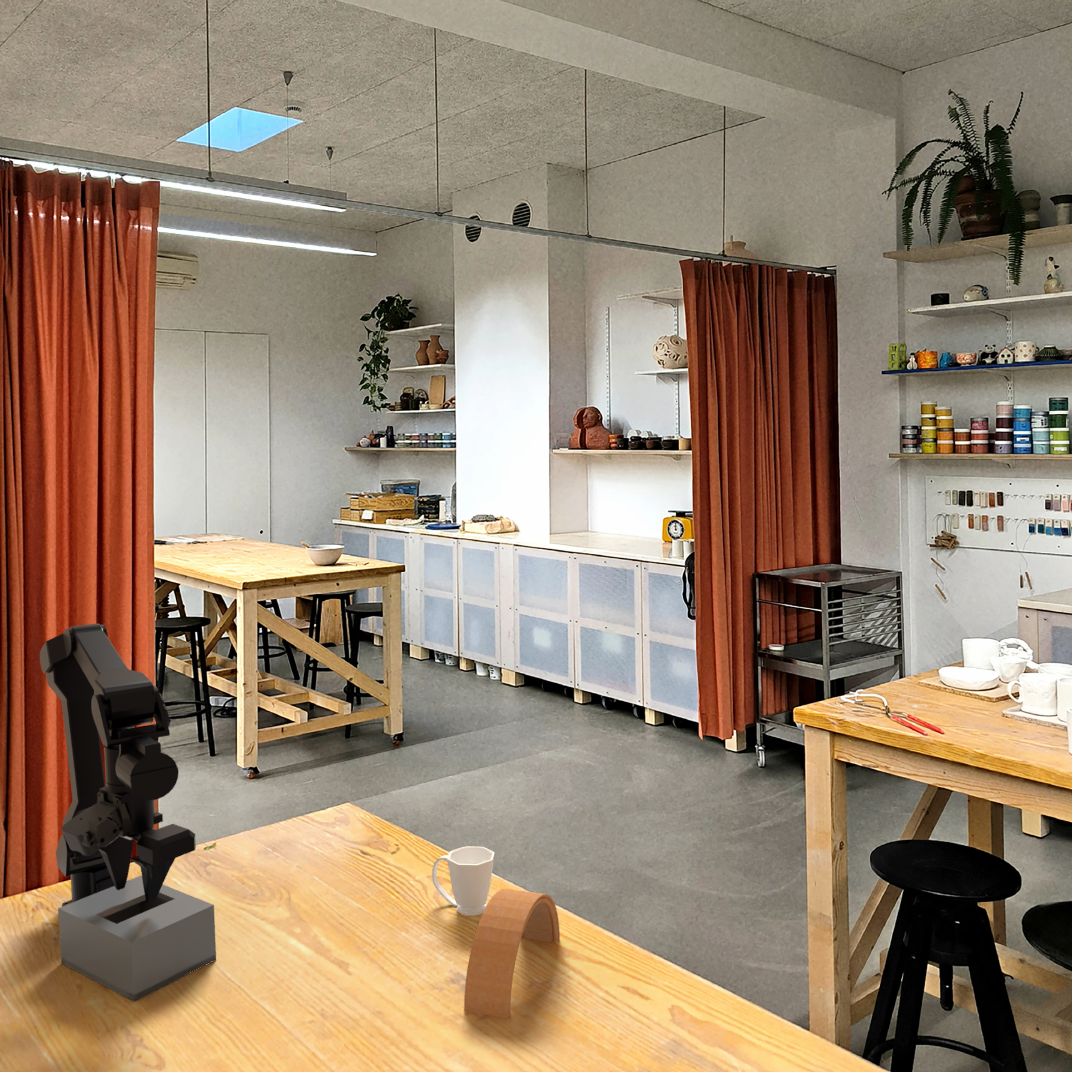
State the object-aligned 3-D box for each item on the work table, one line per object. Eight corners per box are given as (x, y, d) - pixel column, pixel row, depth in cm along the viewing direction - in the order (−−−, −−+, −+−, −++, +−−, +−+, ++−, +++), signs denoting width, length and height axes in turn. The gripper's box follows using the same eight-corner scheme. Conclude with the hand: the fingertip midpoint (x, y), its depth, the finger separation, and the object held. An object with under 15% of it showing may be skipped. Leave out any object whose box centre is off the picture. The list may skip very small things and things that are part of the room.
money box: (61, 963, 134) (58, 908, 133) (143, 927, 144) (140, 875, 143) (134, 1001, 125) (131, 942, 124) (216, 960, 135) (213, 904, 134)
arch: (561, 940, 139) (560, 869, 138) (508, 1020, 121) (507, 938, 120) (520, 934, 141) (520, 864, 140) (462, 1011, 122) (461, 931, 121)
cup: (480, 924, 144) (479, 868, 143) (420, 910, 148) (419, 856, 148) (504, 903, 150) (504, 850, 149) (446, 890, 155) (445, 838, 154)
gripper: (29, 782, 131) (36, 900, 132) (115, 812, 120) (121, 940, 122) (109, 759, 140) (115, 870, 141) (195, 785, 129) (200, 904, 131)
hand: (135, 895), depth 134 cm, fingers open, 6 cm apart
